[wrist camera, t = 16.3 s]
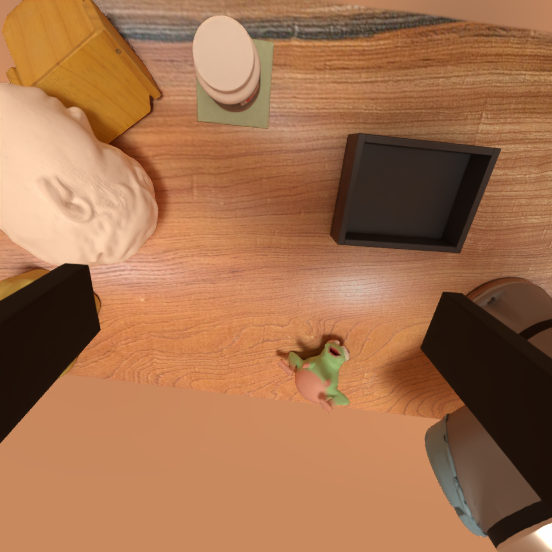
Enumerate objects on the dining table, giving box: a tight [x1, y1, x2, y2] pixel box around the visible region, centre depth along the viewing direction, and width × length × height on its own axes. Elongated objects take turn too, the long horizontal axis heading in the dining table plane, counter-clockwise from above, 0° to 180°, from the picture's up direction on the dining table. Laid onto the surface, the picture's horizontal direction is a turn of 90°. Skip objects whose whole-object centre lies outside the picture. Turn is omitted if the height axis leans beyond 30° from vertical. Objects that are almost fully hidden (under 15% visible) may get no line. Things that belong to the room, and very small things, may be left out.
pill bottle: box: [193, 15, 261, 112], centre depth 26 cm, size 6×6×10 cm
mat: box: [195, 31, 274, 129], centre depth 30 cm, size 8×8×1 cm
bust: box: [0, 82, 158, 267], centre depth 27 cm, size 12×18×14 cm
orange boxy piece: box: [2, 0, 161, 144], centre depth 28 cm, size 10×10×9 cm
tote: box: [330, 133, 501, 253], centre depth 35 cm, size 17×13×4 cm
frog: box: [278, 340, 350, 413], centre depth 45 cm, size 12×10×9 cm
